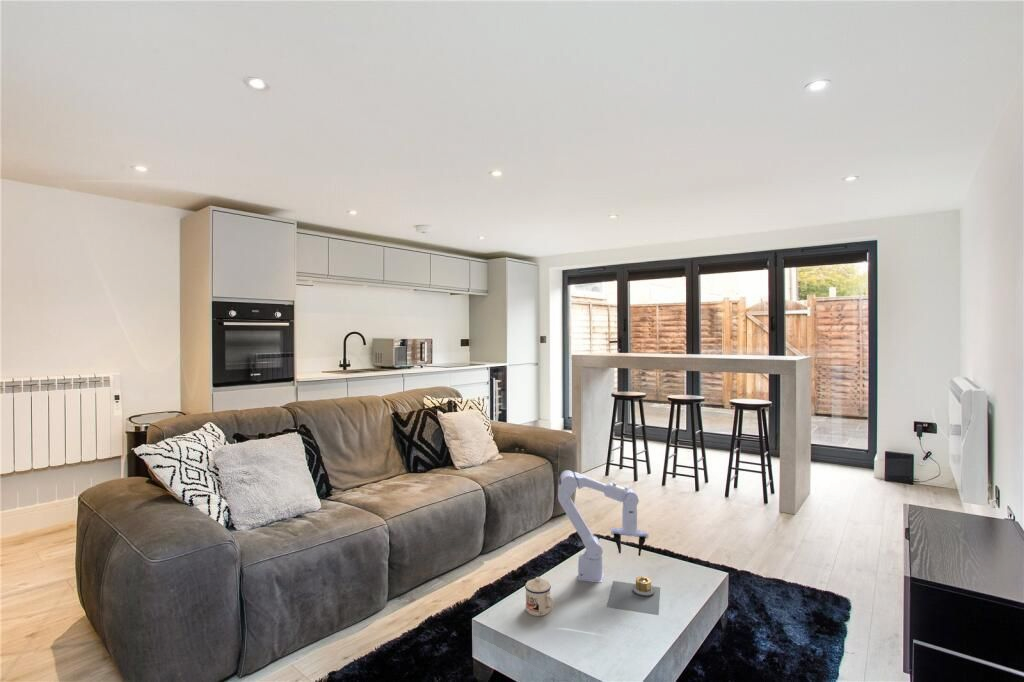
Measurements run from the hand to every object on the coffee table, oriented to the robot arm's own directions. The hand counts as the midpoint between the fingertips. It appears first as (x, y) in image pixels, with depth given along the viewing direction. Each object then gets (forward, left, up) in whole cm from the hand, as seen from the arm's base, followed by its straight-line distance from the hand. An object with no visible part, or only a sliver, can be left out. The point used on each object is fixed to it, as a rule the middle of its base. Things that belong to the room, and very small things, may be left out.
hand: (629, 553), depth 210 cm
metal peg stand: (+6, -10, -10) cm, 15 cm away
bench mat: (+3, -15, -10) cm, 18 cm away
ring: (+6, -10, -8) cm, 14 cm away
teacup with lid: (-28, -34, -10) cm, 45 cm away
